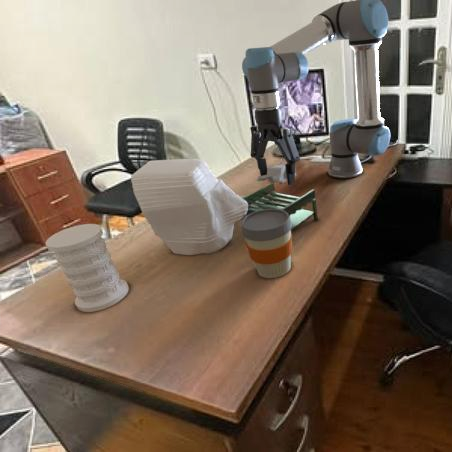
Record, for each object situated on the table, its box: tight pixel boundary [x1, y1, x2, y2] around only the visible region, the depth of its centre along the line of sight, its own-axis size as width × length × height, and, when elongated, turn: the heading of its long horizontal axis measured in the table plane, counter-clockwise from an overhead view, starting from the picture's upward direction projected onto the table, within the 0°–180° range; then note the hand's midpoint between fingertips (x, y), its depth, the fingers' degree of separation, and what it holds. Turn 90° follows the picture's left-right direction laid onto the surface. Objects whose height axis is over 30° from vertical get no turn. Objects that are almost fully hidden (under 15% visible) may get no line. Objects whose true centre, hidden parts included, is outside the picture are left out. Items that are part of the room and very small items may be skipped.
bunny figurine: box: [256, 164, 297, 185], centre depth 109 cm, size 10×5×15 cm
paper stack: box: [130, 158, 248, 256], centre depth 101 cm, size 21×27×26 cm
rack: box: [242, 182, 319, 232], centre depth 114 cm, size 16×18×11 cm
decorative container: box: [45, 223, 130, 313], centre depth 84 cm, size 12×12×18 cm
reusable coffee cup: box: [240, 209, 293, 279], centre depth 91 cm, size 13×13×15 cm
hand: (278, 181), depth 110 cm, fingers closed on bunny figurine, 10 cm apart
